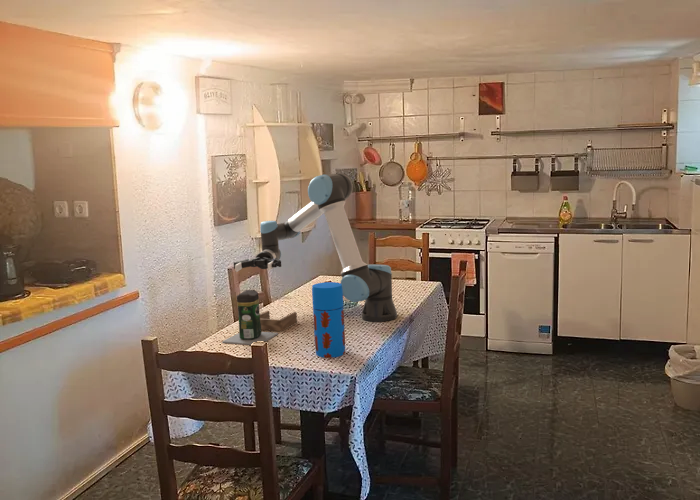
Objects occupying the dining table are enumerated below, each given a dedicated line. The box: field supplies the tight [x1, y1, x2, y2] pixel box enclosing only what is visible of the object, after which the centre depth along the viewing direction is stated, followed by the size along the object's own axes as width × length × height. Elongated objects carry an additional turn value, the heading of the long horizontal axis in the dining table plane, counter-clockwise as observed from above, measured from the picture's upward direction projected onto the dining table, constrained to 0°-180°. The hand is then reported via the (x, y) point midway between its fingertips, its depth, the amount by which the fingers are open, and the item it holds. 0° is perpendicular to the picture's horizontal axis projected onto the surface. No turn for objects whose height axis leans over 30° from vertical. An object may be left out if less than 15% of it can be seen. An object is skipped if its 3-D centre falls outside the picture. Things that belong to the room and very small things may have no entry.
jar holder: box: [260, 310, 298, 332], centre depth 283 cm, size 14×14×4 cm
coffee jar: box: [236, 289, 263, 340], centre depth 264 cm, size 10×8×19 cm
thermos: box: [311, 281, 346, 359], centre depth 240 cm, size 11×11×25 cm
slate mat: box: [221, 331, 279, 346], centre depth 265 cm, size 16×16×1 cm
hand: (252, 267), depth 271 cm, fingers open, 13 cm apart
